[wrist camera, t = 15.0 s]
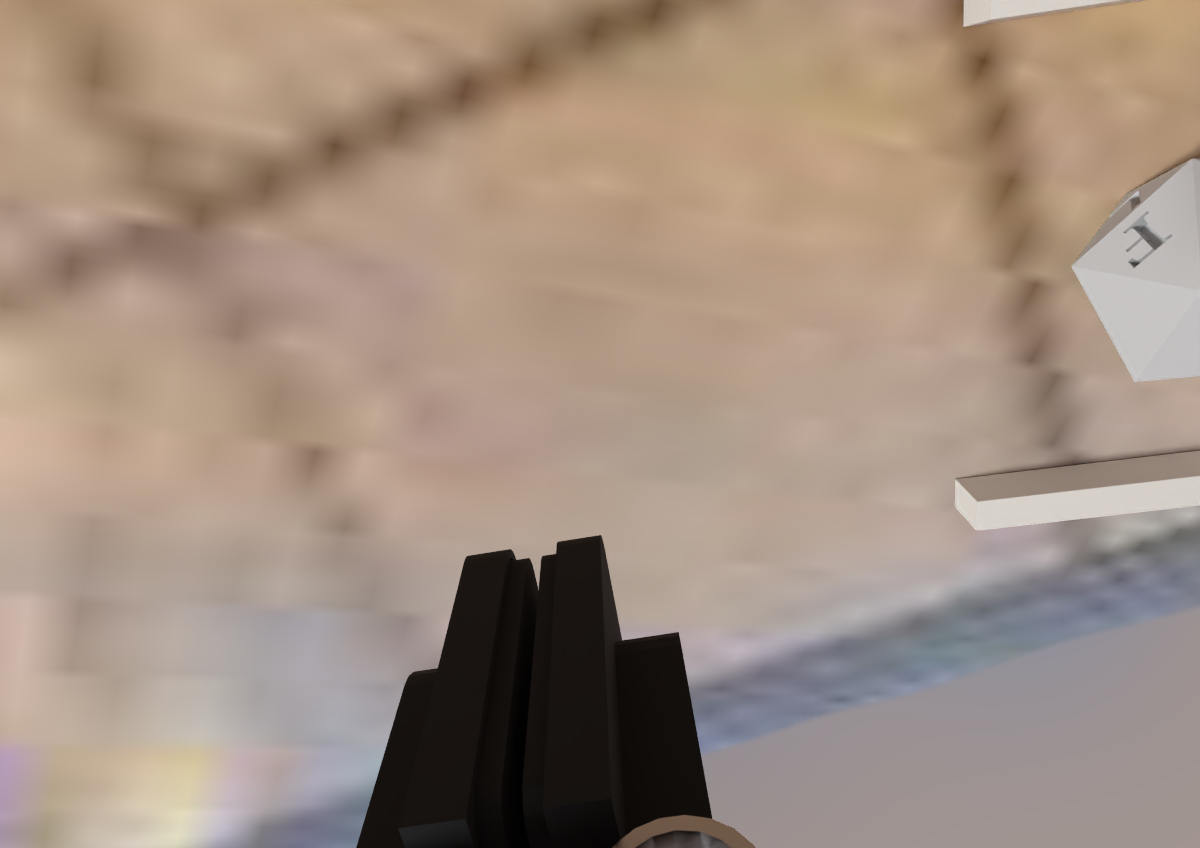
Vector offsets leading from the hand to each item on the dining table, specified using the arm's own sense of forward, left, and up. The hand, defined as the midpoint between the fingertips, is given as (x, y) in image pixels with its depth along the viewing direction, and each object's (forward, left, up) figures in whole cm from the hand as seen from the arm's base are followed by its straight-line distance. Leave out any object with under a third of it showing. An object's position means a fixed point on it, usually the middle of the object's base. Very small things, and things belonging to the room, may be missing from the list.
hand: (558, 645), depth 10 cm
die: (+3, +24, -28) cm, 37 cm away
